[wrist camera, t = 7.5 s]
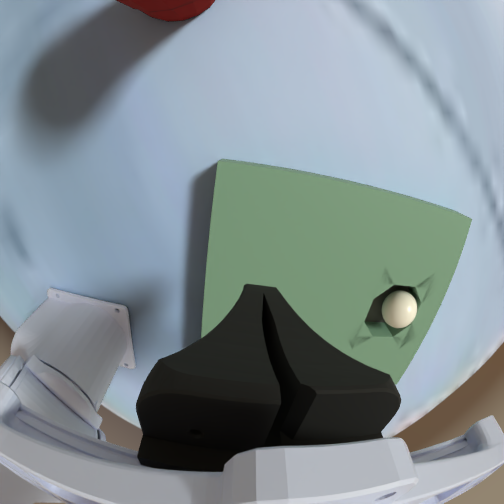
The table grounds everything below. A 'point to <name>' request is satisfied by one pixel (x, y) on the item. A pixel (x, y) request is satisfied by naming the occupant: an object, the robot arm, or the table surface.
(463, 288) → the table surface
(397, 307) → the ball
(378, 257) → the putting board
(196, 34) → the table surface
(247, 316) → the robot arm
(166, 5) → the plastic cup
